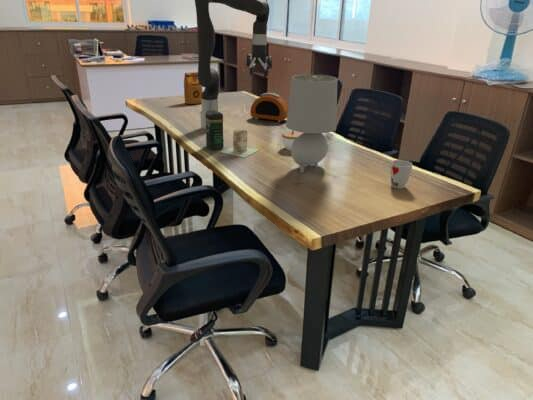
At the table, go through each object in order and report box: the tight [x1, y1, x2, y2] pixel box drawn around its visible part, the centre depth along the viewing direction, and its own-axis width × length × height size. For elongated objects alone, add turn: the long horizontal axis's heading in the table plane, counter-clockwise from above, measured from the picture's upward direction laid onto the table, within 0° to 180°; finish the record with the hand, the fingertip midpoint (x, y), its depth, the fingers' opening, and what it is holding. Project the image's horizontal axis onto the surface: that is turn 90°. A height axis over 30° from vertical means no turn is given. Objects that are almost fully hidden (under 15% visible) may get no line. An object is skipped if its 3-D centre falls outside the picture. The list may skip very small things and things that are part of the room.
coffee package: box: [183, 71, 204, 105], centre depth 298 cm, size 10×12×22 cm
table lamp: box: [285, 74, 338, 174], centre depth 179 cm, size 23×22×40 cm
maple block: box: [232, 128, 248, 153], centre depth 204 cm, size 5×5×10 cm
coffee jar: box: [205, 110, 224, 151], centre depth 208 cm, size 10×8×19 cm
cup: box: [390, 159, 413, 190], centre depth 170 cm, size 8×8×10 cm
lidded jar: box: [281, 130, 303, 152], centre depth 211 cm, size 11×11×9 cm
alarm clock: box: [250, 92, 289, 123], centre depth 263 cm, size 23×9×17 cm, turn 68°
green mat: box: [220, 146, 260, 158], centre depth 207 cm, size 14×14×1 cm
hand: (258, 76), depth 219 cm, fingers open, 8 cm apart
